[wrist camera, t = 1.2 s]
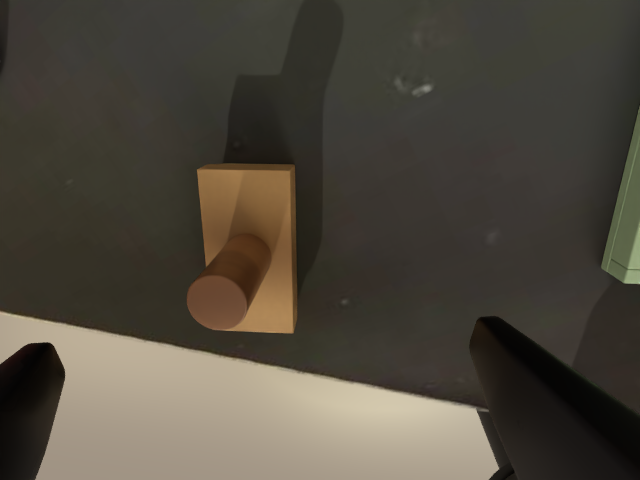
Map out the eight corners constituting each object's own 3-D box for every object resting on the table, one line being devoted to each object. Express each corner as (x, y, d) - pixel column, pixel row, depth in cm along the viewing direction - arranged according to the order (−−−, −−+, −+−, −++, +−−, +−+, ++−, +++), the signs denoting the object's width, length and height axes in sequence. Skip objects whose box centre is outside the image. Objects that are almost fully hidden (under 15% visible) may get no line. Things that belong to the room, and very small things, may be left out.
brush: (300, 305, 25) (276, 398, 17) (228, 302, 25) (173, 393, 18) (298, 160, 22) (268, 194, 14) (217, 159, 22) (146, 192, 15)
